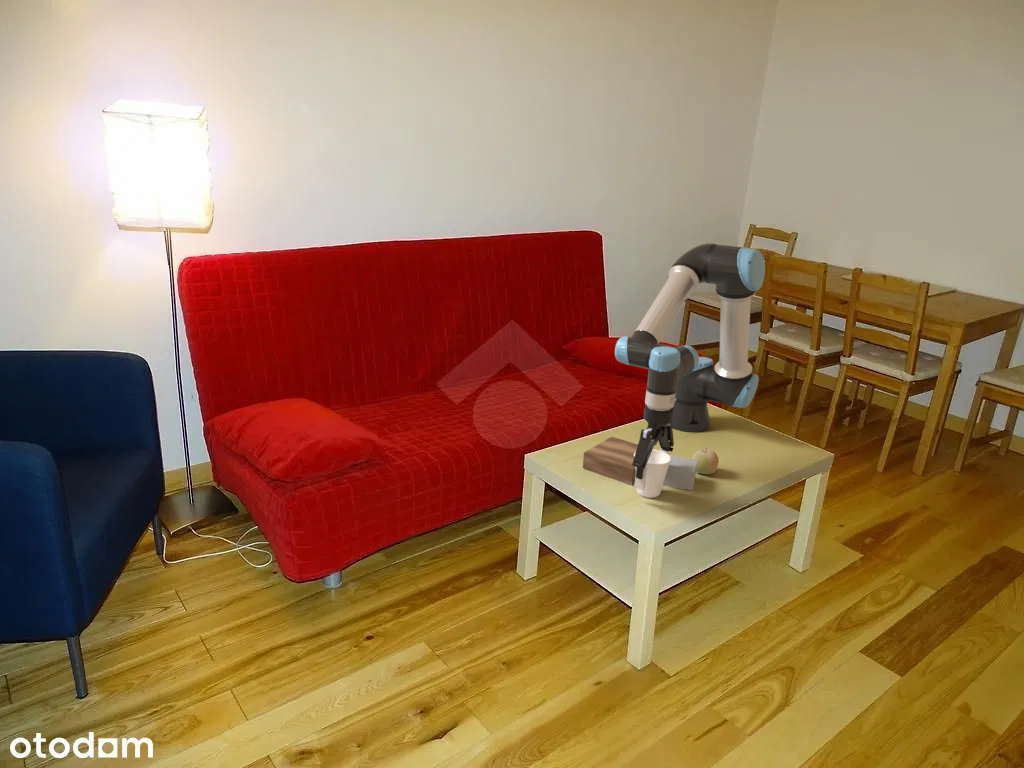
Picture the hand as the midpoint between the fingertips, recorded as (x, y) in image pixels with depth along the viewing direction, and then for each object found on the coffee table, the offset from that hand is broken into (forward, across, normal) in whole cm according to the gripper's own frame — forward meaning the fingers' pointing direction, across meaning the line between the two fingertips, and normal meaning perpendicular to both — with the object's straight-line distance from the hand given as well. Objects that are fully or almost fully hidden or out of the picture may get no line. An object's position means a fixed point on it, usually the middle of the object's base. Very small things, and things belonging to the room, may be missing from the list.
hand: (650, 480), depth 193 cm
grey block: (+4, +12, -3) cm, 13 cm away
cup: (+4, 0, 0) cm, 4 cm away
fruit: (+4, +23, -6) cm, 24 cm away
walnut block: (+4, +9, +14) cm, 17 cm away
